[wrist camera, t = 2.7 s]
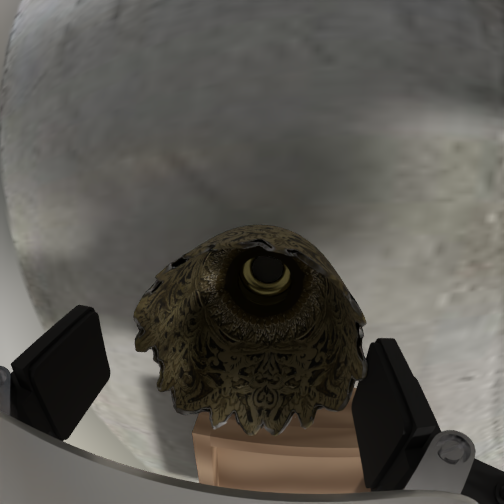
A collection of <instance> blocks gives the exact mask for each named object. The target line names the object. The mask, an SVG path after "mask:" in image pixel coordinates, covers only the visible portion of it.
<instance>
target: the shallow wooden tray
mask: <svg viewBox="0 0 504 504" xmlns="http://www.w3.org/2000/svg"><path fill="white" fill-rule="evenodd" d="M356 389H357V388H354V389H353V392H352V395H351V398H350V400H349V402H348V404H347V406H346V407H345V408H344V410H342V411H338V412H334V411H328V410H326V408H324V409H320V410H317V411H316V416H315V419H314V422H313V424H312V425H311V426H310V427H308V428H307V429H304V428H302V427H301V426H300V425H301V424H300V421H299V419H298V416H297V414H296V413H294V415H293V417H292V419H291V421H290V423H289V424H288V426H287V427H286V428H285V430H284V431H283V432H282V433H280V434H279V435H277V436H272V435H271V434H270V433H269V432H268V431H267V430H266V429H265V428H264V425H263V429H262V428H260V429H259V431H258V432H257V433H256V434H255V435H253V436H248V435H247V434H246V433H245V432H244V431H243V429H242V428H241V426H240V425H238V424H237V422H236V419H235V414H232V415H231V417H230V418H229V419H228V420H227V421H226V422H227V423H226V424H224V425H222V426H221V427H220V428H217V429H213V428H212V426H211V422H210V420H209V417H210V415H209V412H201V413H199V415H198V417H197V420H196V423H195V426H194V429H193V431H192V436H193V444H194V451H195V457H196V464H197V470H198V477H199V483H201V484H206V485H212V486H219V487H225V488H233V489H241V490H250V491H260V492H273V493H294V494H341V493H361V492H371V489H370V488H366V486H365V482H364V476H363V470H362V464H361V458H360V453H359V447H358V442H357V436H356V431H355V426H354V421H353V416H352V410H351V406H352V400H353V397H354V395H355V392H356ZM295 417H296V418H295Z"/></svg>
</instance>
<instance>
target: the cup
mask: <svg viewBox="0 0 504 504" xmlns="http://www.w3.org/2000/svg"><path fill="white" fill-rule="evenodd" d="M258 256H270V257H273V258H276V259H278V260H280V261H281V262H282V265H283V273H282V275H281V277H280V278H279V279H278V280H277V281H275V282H272V283H264V282H261V281H259V280H258V279H256V278H255V276H254V275H253V272H252V264H253V262H254V260H255V259H256V258H257V257H258ZM155 278H156V279H157V280H156V281H155V283H154V284H153V285H152V286H151V288H150V289H148V290H147V291H146V292H145V294H144V295H143V297H142V298H141V300H140V302H139V304H138V305H137V307H136V309H135V312H134V321H135V322H136V324H137V327H138V329H139V332H138V334H137V336H136V338H135V348H136V351H137V352H147V351H148V350H149V349H152V350H153V360H154V361H155V362H156V363H158V364H159V367H160V372H159V373H160V376H159V379H158V382H157V388H158V390H159V391H160V392H165V391H170V390H171V395H172V400H173V406H174V408H175V410H176V412H177V413H180V414H183V415H188V414H197V413H201V412H209V415H210V417H209V420H210V422H211V426H212V428H213V429H217V428H220V427H221V426H222V425H224V424H226V423H227V422H226V421H227V420H228V419H229V418H230V417H231V415H232V414H235V419H236V422H237V424H238V425H240V426H241V428H242V429H243V431H244V432H245V433H246V434H247V435H248V436H253V435H255V434H256V433H257V432H258V431H259V429H260V428H262V429H263V425H264V428H265V429H266V430H267V431H268V432H269V433H270V434H271V435H272V436H277V435H279V434H280V433H282V432H283V431H284V430H285V428H286V427H287V426H288V424H289V423H290V421H291V419H292V417H293V415H294V413H296V414H297V416H298V419H299V421H300V424H301V425H300V426H301V427H302V428H304V429H307V428H308V427H310V426H311V425H312V424H313V422H314V419H315V416H316V411H317V410H320V409H324V408H326V410H328V411H334V412H338V411H342V410H344V408H345V407H346V406H347V404H348V402H349V400H350V398H351V395H352V392H353V389H354V384H355V381H359V380H360V381H362V380H364V379H365V378H366V376H367V372H368V363H367V360H366V358H365V356H364V353H363V349H362V338H363V336H364V333H363V329H362V327H363V326H364V325H366V320H365V317H364V315H363V313H362V311H361V309H360V307H359V306H358V304H357V302H356V301H355V299H354V298H353V296H352V295H351V293H350V292H349V290H348V289H347V287H346V286H345V284H344V283H343V281H342V279H341V278H340V276H339V275H338V274H337V272H336V271H335V269H334V268H333V266H332V265H331V264H330V262H329V261H328V260H327V259H326V257H325V256H324V255H323V254H322V253H321V252H320V251H319V250H318V249H317V248H316V247H315V246H314V245H313V244H311V243H310V242H309V241H308V240H306V239H305V238H303V237H301V236H300V235H298V234H296V233H294V232H292V231H289V230H286V229H283V228H279V227H275V226H268V225H249V226H243V227H239V228H235V229H232V230H229V231H226V232H224V233H222V234H219V235H217V236H215V237H213V238H211V239H210V240H208V241H206V242H205V243H203V244H201V245H200V246H198V247H197V248H195V249H193V250H192V251H190V252H189V253H187V254H185V255H183V256H182V257H181V258H180V259H178V260H176V261H175V262H172V263H170V264H169V265H168V266H166V267H165V268H164V269H163V270H162V271H161V272H160V273H159V274H157V275H156V277H155ZM151 347H152V348H151ZM295 418H296V417H295Z"/></svg>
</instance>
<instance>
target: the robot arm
mask: <svg viewBox="0 0 504 504" xmlns="http://www.w3.org/2000/svg"><path fill="white" fill-rule="evenodd" d="M366 360H367V363H368V372H367V376H366V378H365V379H364V380H362V381H360V380H359V383H358V386H357V389H356V392H355V395H354V397H353V400H352V406H351V410H352V416H353V421H354V426H355V431H356V436H357V442H358V447H359V453H360V458H361V464H362V470H363V476H364V482H365V486H366V488H370V489H371V492H361V493H341V494H294V493H273V492H260V491H250V490H241V489H233V488H225V487H219V486H212V485H206V484H201V483H195V482H190V481H185V480H181V479H176V478H172V477H167V476H163V475H159V474H155V473H152V472H147V471H144V470H141V469H137V468H134V467H131V466H127V465H124V464H121V463H118V462H115V461H112V460H109V459H106V458H103V457H100V456H97V455H95V454H92V453H89V452H87V451H84V450H82V449H79V448H77V447H74V446H72V445H70V444H67V443H65V442H63V440H66V439H68V438H69V436H70V435H71V433H72V432H73V430H74V429H75V427H76V426H77V425H78V423H79V421H80V420H81V419H82V417H83V416H84V414H85V413H86V411H87V410H88V408H89V407H90V406H91V404H92V403H93V401H94V400H95V398H96V397H97V396H98V394H99V393H100V391H101V390H102V388H103V387H104V386H105V384H106V383H107V381H108V380H109V378H110V368H109V364H108V359H107V355H106V351H105V346H104V341H103V337H102V332H101V326H100V321H99V316H98V314H97V313H96V312H95V310H94V308H92V307H88V306H83V305H78V306H76V307H75V308H74V309H72V310H71V311H70V312H69V313H68V314H66V315H65V316H64V317H63V318H62V319H61V320H59V321H58V322H57V323H56V324H55V325H54V326H52V327H51V328H50V329H49V330H48V331H47V332H46V333H44V334H43V335H42V336H41V337H40V338H39V339H38V340H36V341H35V342H34V343H33V344H32V345H31V346H30V347H29V348H28V349H26V350H25V351H24V352H23V353H22V354H21V355H20V356H19V357H18V358H17V359H15V360H14V362H12V363H11V366H12V369H13V372H12V373H11V374H10V372H9V370H8V369H7V368H5V367H3V366H0V504H504V472H503V471H501V470H499V469H497V468H494V467H492V466H490V465H488V464H486V463H483V462H481V461H479V460H477V459H475V452H476V451H475V446H474V444H473V442H472V441H471V439H470V438H469V437H467V436H466V435H465V434H463V433H461V432H458V431H454V430H447V431H443V432H441V430H440V428H439V426H438V423H437V421H436V419H435V417H434V414H433V412H432V410H431V408H430V406H429V404H428V401H427V399H426V397H425V395H424V393H423V391H422V389H421V387H420V385H419V382H418V380H417V379H416V378H415V377H414V376H413V374H412V372H411V370H410V368H409V366H408V364H407V362H406V360H405V358H404V356H403V354H402V352H401V350H400V348H399V346H398V344H397V342H396V340H395V339H393V338H378V339H377V340H376V342H372V343H371V344H370V347H369V350H368V354H367V357H366Z"/></svg>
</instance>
